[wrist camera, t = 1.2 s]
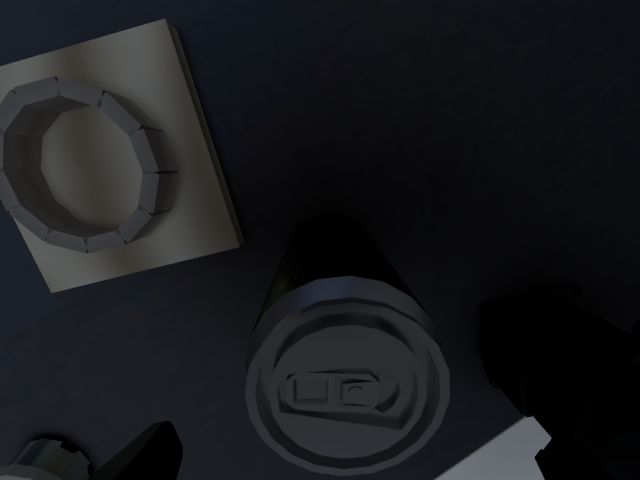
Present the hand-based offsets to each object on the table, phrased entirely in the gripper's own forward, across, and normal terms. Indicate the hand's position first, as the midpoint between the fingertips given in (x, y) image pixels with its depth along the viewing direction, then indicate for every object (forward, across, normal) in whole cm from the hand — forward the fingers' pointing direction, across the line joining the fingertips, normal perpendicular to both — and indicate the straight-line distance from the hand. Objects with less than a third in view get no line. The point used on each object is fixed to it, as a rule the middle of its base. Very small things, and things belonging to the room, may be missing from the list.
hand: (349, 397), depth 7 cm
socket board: (+12, +11, -8) cm, 18 cm away
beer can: (+12, 0, 0) cm, 12 cm away
